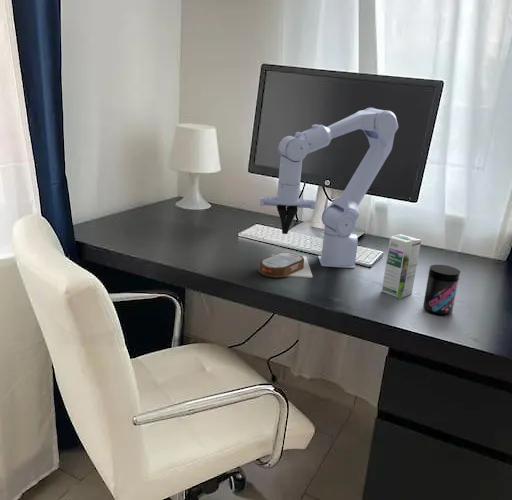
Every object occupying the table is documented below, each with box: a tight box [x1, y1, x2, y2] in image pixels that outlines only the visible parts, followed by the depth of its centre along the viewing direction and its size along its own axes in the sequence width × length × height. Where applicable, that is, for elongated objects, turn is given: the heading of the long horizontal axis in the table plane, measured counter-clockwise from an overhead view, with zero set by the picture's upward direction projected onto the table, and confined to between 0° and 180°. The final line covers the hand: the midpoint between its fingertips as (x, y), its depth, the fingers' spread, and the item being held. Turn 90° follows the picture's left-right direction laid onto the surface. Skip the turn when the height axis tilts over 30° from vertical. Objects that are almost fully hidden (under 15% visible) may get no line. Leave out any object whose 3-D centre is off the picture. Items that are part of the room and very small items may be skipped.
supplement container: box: [422, 264, 461, 317], centre depth 129 cm, size 7×7×10 cm
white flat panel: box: [287, 255, 313, 279], centre depth 153 cm, size 10×16×1 cm, turn 1°
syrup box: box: [381, 234, 422, 300], centre depth 137 cm, size 6×6×14 cm
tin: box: [258, 252, 304, 278], centre depth 149 cm, size 15×3×8 cm
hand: (284, 232), depth 150 cm, fingers closed
